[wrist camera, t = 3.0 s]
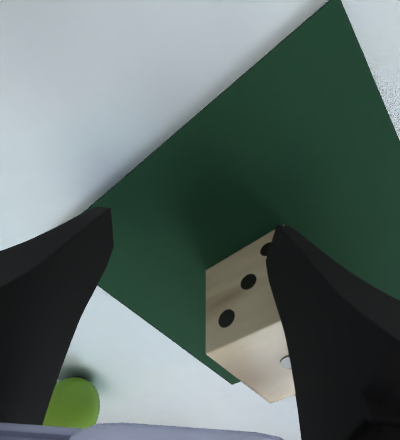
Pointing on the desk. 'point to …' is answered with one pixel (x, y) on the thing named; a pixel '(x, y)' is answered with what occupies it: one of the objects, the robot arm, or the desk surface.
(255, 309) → the die
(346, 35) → the dice mat
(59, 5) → the desk surface
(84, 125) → the desk surface
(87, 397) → the snail figurine
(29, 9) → the desk surface
